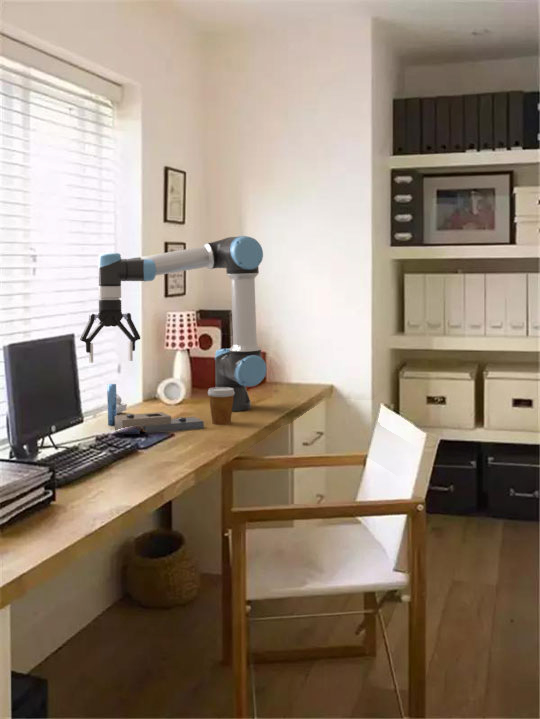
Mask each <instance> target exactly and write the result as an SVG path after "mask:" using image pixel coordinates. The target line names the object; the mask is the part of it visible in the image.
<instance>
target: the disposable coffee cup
mask: <svg viewBox="0 0 540 719" xmlns="http://www.w3.org/2000/svg"><path fill="white" fill-rule="evenodd" d="M234 394H235V392H234V389H233V388H228V387H216V386H214V387H209V388H208V391H207V395H208V399H209V400H208V401H209V407H210V414H211V422H212V425H219V426H221V425H222V426H223V425H224V426H225V425H229V424H230V425H231V422H232V412H233V411H232V406H233V397H234Z"/></svg>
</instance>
